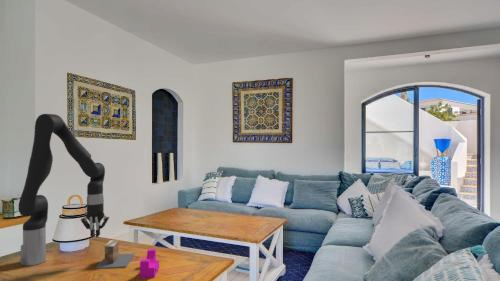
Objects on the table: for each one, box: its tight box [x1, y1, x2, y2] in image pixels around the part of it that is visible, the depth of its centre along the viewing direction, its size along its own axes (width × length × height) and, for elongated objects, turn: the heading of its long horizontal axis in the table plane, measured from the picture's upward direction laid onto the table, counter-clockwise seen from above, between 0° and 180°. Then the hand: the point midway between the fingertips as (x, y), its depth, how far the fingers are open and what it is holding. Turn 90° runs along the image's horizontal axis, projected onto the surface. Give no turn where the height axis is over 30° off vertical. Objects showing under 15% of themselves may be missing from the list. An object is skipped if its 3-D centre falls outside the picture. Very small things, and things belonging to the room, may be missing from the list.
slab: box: [104, 239, 119, 264], centre depth 149 cm, size 4×8×9 cm, turn 7°
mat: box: [94, 253, 135, 270], centre depth 149 cm, size 14×16×1 cm
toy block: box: [139, 248, 160, 279], centre depth 139 cm, size 15×6×8 cm, turn 6°
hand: (95, 236), depth 148 cm, fingers closed
